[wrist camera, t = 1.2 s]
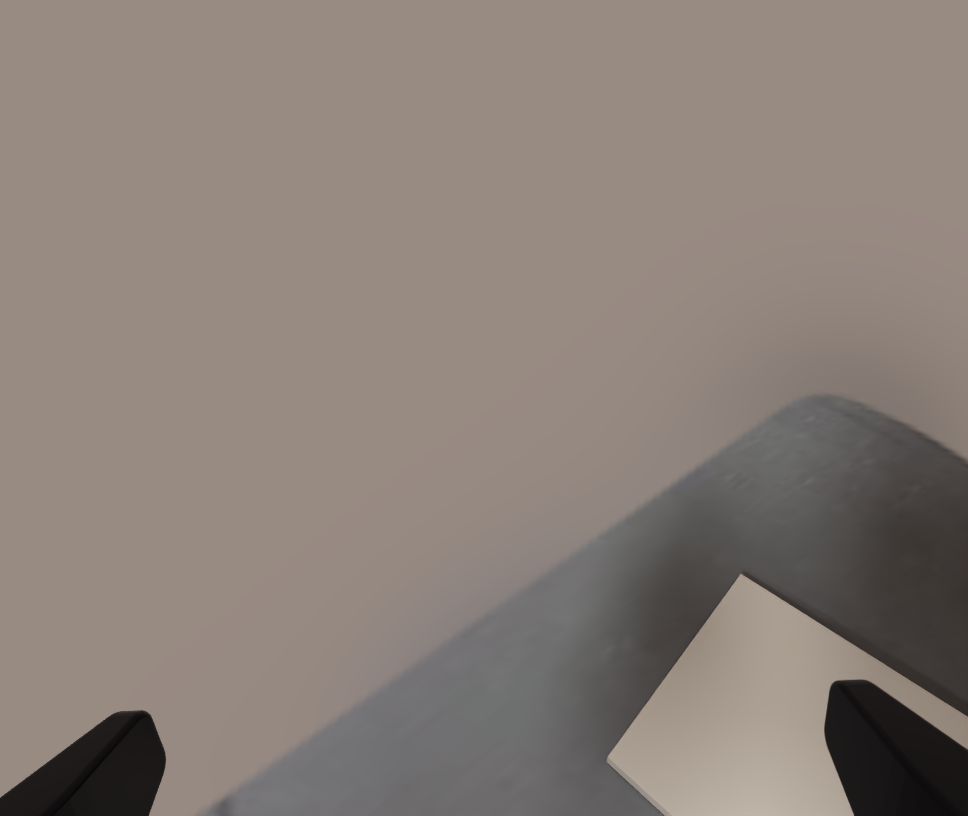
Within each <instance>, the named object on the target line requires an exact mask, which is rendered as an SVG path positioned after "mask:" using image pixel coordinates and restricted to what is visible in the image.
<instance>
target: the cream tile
mask: <svg viewBox="0 0 968 816" xmlns="http://www.w3.org/2000/svg"><path fill="white" fill-rule="evenodd" d="M858 679H863V680H868V681H870V682H872V683H874V684H875V685H877V686H878V687H879V688H881V689H882V690H884V691H885V692H887V693H888V694H889V695H891V696H892V697H894V698H895V699H897V700H898V701H899V702H901V703H902V704H904V705H905V706H907V707H908V708H909V709H911V710H912V711H914V712H915V713H916V714H918V715H919V716H921V717H922V718H924V719H925V720H926V721H928V722H929V723H931V724H932V725H934V726H935V727H936V728H938V729H939V730H941V731H942V732H944V733H945V734H946V735H948V736H949V737H951V738H952V739H953V740H955V741H956V742H958V743H959V744H961V745H962V746H963V747H965V748H966V749H968V717H967V716H966V715H964V714H962V713H961V712H959V711H958V710H956V709H954V708H953V707H951V706H950V705H948V704H947V703H945V702H943V701H942V700H940V699H939V698H937V697H935V696H934V695H932V694H931V693H929V692H928V691H926V690H924V689H923V688H921V687H920V686H918V685H916V684H915V683H913V682H912V681H910V680H908V679H907V678H905V677H904V676H902V675H901V674H899V673H897V672H896V671H894V670H893V669H891V668H889V667H888V666H886V665H885V664H883V663H882V662H880V661H878V660H877V659H875V658H874V657H872V656H870V655H869V654H867V653H866V652H864V651H862V650H861V649H859V648H858V647H856V646H855V645H853V644H851V643H850V642H848V641H847V640H845V639H843V638H842V637H840V636H839V635H837V634H835V633H834V632H832V631H831V630H829V629H828V628H826V627H824V626H823V625H821V624H820V623H818V622H816V621H815V620H813V619H812V618H810V617H809V616H807V615H805V614H804V613H802V612H801V611H799V610H797V609H796V608H794V607H793V606H791V605H789V604H788V603H786V602H785V601H783V600H782V599H780V598H778V597H777V596H775V595H774V594H772V593H770V592H769V591H767V590H766V589H764V588H763V587H761V586H759V585H758V584H756V583H755V582H753V581H751V580H750V579H748V578H747V577H745V576H743V575H742V574H740V576H739V577H738V579H737V580H736V581H735V583H734V584H733V585H732V587H731V588H730V590H729V591H728V592H727V594H726V595H725V596H724V598H723V599H722V601H721V602H720V603H719V605H718V606H717V607H716V609H715V610H714V612H713V613H712V614H711V616H710V617H709V618H708V620H707V621H706V623H705V624H704V625H703V627H702V628H701V629H700V631H699V632H698V633H697V635H696V636H695V638H694V639H693V640H692V642H691V643H690V644H689V646H688V647H687V649H686V650H685V651H684V653H683V654H682V655H681V657H680V658H679V660H678V661H677V662H676V664H675V665H674V666H673V668H672V669H671V671H670V672H669V673H668V675H667V676H666V677H665V679H664V680H663V682H662V683H661V684H660V686H659V687H658V688H657V690H656V691H655V693H654V694H653V695H652V697H651V698H650V699H649V701H648V702H647V703H646V705H645V706H644V708H643V709H642V710H641V712H640V713H639V714H638V716H637V717H636V719H635V720H634V721H633V723H632V724H631V725H630V727H629V728H628V730H627V731H626V732H625V734H624V735H623V736H622V738H621V739H620V741H619V742H618V743H617V745H616V746H615V747H614V749H613V750H612V752H611V753H610V754H609V756H608V757H607V763H608V764H609V765H610V766H611V767H613V768H614V769H615V770H616V771H617V772H618V773H619V774H620V775H621V776H622V777H623V778H625V779H626V780H627V781H628V782H629V783H630V784H631V785H632V786H633V787H634V788H635V789H637V790H638V791H639V792H640V793H641V794H642V795H643V796H644V797H645V798H646V799H647V800H648V801H650V802H651V803H652V804H653V805H654V806H655V807H656V808H657V809H658V810H659V811H660V812H662V813H663V814H664V815H665V816H854V814H853V812H852V809H851V807H850V804H849V802H848V799H847V797H846V794H845V792H844V789H843V786H842V784H841V781H840V779H839V776H838V774H837V771H836V769H835V766H834V764H833V761H832V758H831V756H830V753H829V751H828V748H827V745H826V741H825V736H824V724H825V717H826V710H827V703H828V696H829V690H830V686H831V685H832V683H833V682H834V681H837V680H858Z"/></svg>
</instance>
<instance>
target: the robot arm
mask: <svg viewBox="0 0 968 816" xmlns="http://www.w3.org/2000/svg"><path fill="white" fill-rule="evenodd" d="M824 736H825V741H826V745H827V748H828V751H829V753H830V756H831V758H832V761H833V764H834V766H835V769H836V771H837V774H838V776H839V779H840V781H841V784H842V786H843V789H844V792H845V794H846V797H847V799H848V802H849V804H850V807H851V809H852V812H853V814H854V816H968V749H966V748H965V747H963V746H962V745H961V744H959V743H958V742H956V741H955V740H953V739H952V738H951V737H949V736H948V735H946V734H945V733H944V732H942V731H941V730H939V729H938V728H936V727H935V726H934V725H932V724H931V723H929V722H928V721H926V720H925V719H924V718H922V717H921V716H919V715H918V714H916V713H915V712H914V711H912V710H911V709H909V708H908V707H907V706H905V705H904V704H902V703H901V702H899V701H898V700H897V699H895V698H894V697H892V696H891V695H889V694H888V693H887V692H885V691H884V690H882V689H881V688H879V687H878V686H877V685H875V684H874V683H872V682H870V681H868V680H863V679H858V680H837V681H834V682H833V683H832V685H831V686H830V690H829V696H828V703H827V710H826V717H825V724H824ZM165 763H166V756H165V751H164V748H163V745H162V743H161V740H160V738H159V735H158V732H157V730H156V727H155V724H154V722H153V719H152V717H151V715H150V714H149V713H148V712H146V711H143V710H141V711H120V712H117V713H114V714H112V715H111V716H109V717H108V718H106V719H105V720H104V721H102V722H101V723H100V724H98V725H97V726H95V727H94V728H93V729H92V730H90V731H89V732H88V733H86V734H85V735H83V736H82V737H81V738H79V739H78V740H77V741H75V742H74V743H73V744H71V745H70V746H69V747H67V748H66V749H65V750H63V751H62V752H61V753H59V754H58V755H57V756H55V757H54V758H53V759H51V760H50V761H49V762H47V763H46V764H45V765H44V766H42V767H41V768H39V769H38V770H37V771H35V772H34V773H33V774H31V775H30V776H29V777H27V778H26V779H25V780H23V781H22V782H21V783H19V784H18V785H17V786H15V787H14V788H12V789H11V790H10V791H9V792H7V793H6V794H4V795H3V796H2V797H1V798H0V816H149V813H150V810H151V807H152V805H153V802H154V799H155V796H156V794H157V791H158V788H159V785H160V782H161V780H162V776H163V773H164V770H165Z"/></svg>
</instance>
